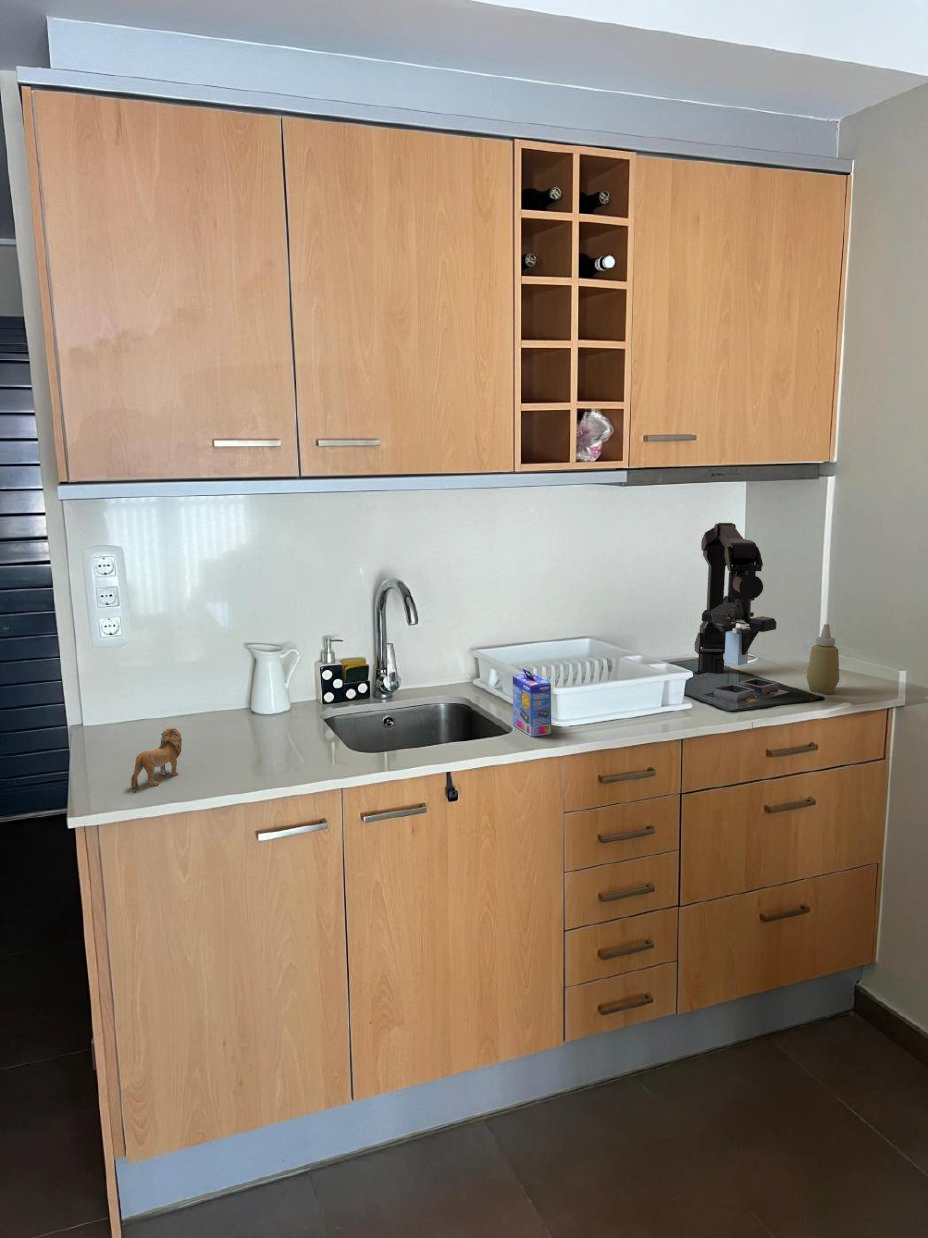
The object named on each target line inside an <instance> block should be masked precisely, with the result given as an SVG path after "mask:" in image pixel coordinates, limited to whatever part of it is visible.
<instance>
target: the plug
mask: <svg viewBox="0 0 928 1238" xmlns="http://www.w3.org/2000/svg"><path fill="white" fill-rule="evenodd" d="M740 629H744V628H743V627H740V626H739V627H737V626H736V628H733V631H728V632H726V641H725V654H724V664H728V665H734V666H736V667H739V666H743V665H747V664H748V661H749V660H748V659H749V658H748V657H749V650H748V651H747V653H746V654H745V655H742V650H741V649H742V634H741V632H740Z"/></svg>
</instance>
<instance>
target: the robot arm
mask: <svg viewBox="0 0 928 1238" xmlns="http://www.w3.org/2000/svg"><path fill="white" fill-rule="evenodd" d="M700 545H701V546H700V548H701V551H702V556H703V558H704V560H705V562H706V563H707V567H708V568H707V569H708V571H707V589H706V590H707V594H706V609H705V610H704V609H703V611H702V613H701V624H700V626H699V630H698V631H699V632H697V635H696V638H695V641H694V644H693V645H694V652H695V653H696V654H697V655H698V664H697V670H694V672H693V673H694V674H697V675H703V674H716V675H719V674H724V672H725V663H724V661H725V658H724V656H725V641H726V632H728V631H733V628H737V624H739V625H744V628H743V629H740V632H741V634H742V649H741V650H742V655H745V654H746V653H747V651H748V652H749V649H750V647H751V645H752V644H753V642H754V640H755V638H756V637H757V636H758V634H759V633H767V632H770V631H775V630H777V620H776V619H775V618H774V617H768V616H763V615H762V616H758V617H754V612H753V611H752V602H753V601H755V599H756V598H758V597H760V595H762V592H763V591H764V583H763V581H762V579H761V578H760V577H759V576H757V574H756V573H757V572H762V568H763V565H764V564H763V559H762V554H761V551H760V550H759V549H760V548H759V547H758V546H757V543H756V542H754V541H753V540H751V539H745V538H744V537H743V536H742V535H741V533H740V532H739V531H738V530H737V526H736V524H735V523H733V522H718V523H715V524H714V526H713V527H712V528H710V529H709V530H707V531H705V532H704V534H703V535H702V537H701V544H700ZM726 567H727V571H728V580H727V581H728V583H727V584H728V585H727V595H725V584H726V583H725V581H726V580H725V579H726V578H725V577H726Z"/></svg>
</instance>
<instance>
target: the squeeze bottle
mask: <svg viewBox="0 0 928 1238" xmlns="http://www.w3.org/2000/svg"><path fill="white" fill-rule="evenodd" d="M831 634H832V633H831V628H830V624H827V623H826V624H823V627H822V631H821V634H820V636H816V638H815V644H814V645H812V646H811V649H810V656H809V660H808V665H807V666H808V667H807V671H806V680H807V683H808V684H807V685H808V687H809V691H810V692H813V693H817V694H822V695H831V694H834V693H835V690H836V688H837V686H838V683H839V681H840V660H839V659H840V657H839V649H838V647H837V646H835V645H836V639H835V638H834V637H832V636H831Z"/></svg>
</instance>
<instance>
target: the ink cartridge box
mask: <svg viewBox="0 0 928 1238" xmlns="http://www.w3.org/2000/svg"><path fill="white" fill-rule="evenodd" d="M522 671H523V673H521V674H513V675H512V725H513V726H514V727H515V728H517V730H520V731H522V732H523V733H524V734H526V735H527V736H529V737H531V738H532V737H533V738H534V737H540V736H541V737H542V736H548V735H549V736H550V735H552V684H551V682H550V681H549V680H546V679H544V678H541V677H539V675H537V674H534V673H531V671H530V670H528V669H525V668H523V667H522Z"/></svg>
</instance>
